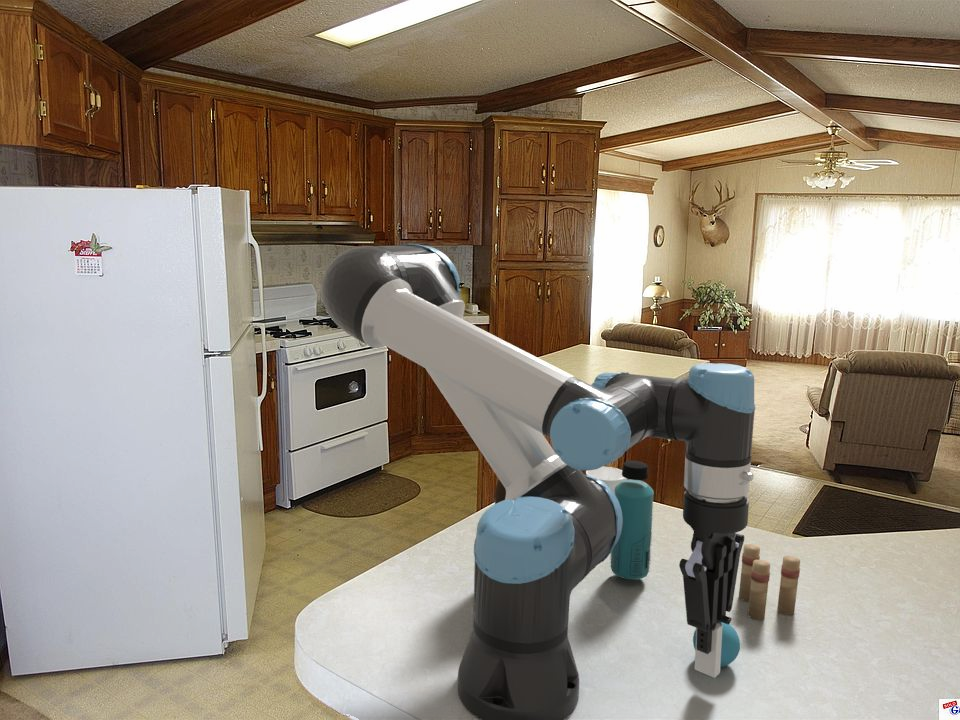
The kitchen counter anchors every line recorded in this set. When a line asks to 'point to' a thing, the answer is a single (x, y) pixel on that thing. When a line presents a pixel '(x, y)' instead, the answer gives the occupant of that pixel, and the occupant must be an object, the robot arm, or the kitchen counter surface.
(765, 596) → the pin front
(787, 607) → the pin back right
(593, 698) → the kitchen counter surface
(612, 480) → the white cup
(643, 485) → the beverage bottle
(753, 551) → the pin back left
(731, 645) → the ball
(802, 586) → the kitchen counter surface
